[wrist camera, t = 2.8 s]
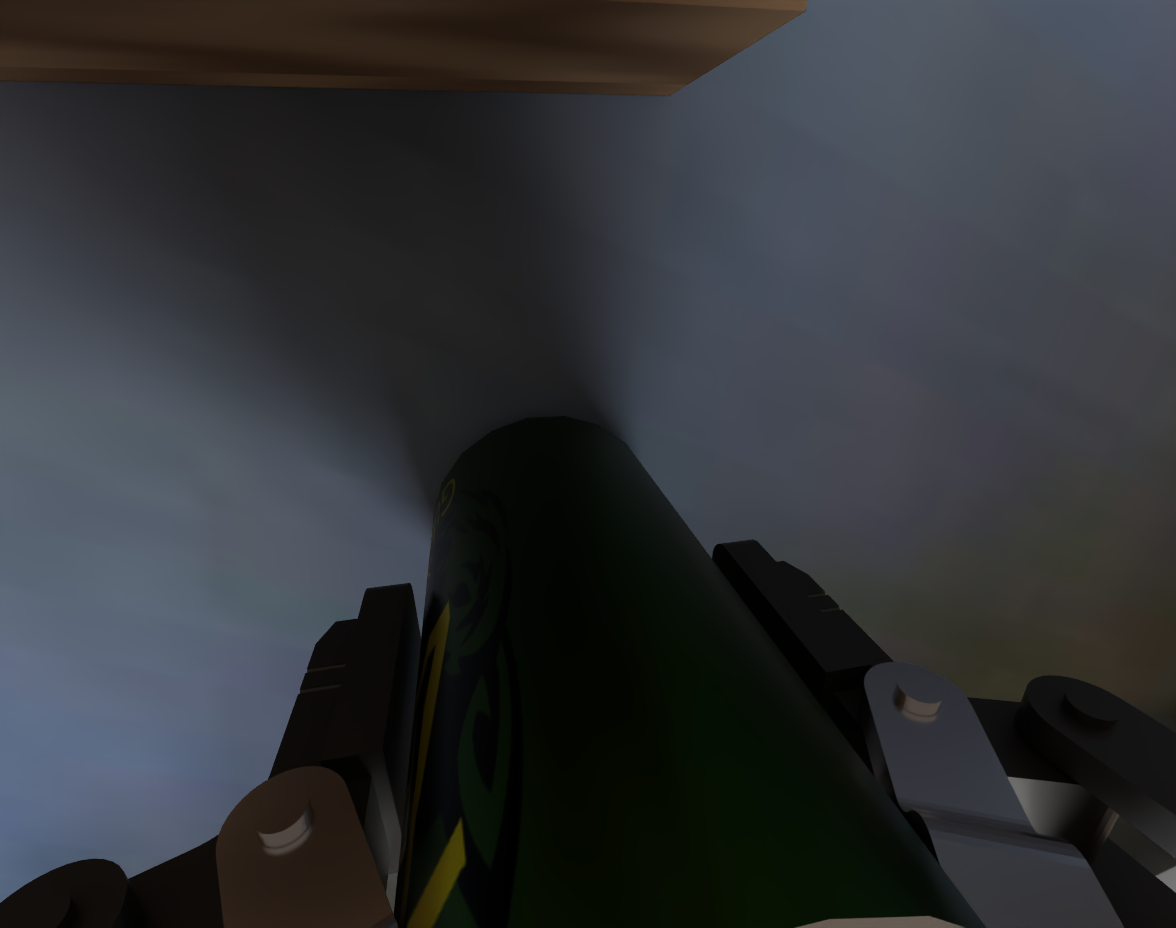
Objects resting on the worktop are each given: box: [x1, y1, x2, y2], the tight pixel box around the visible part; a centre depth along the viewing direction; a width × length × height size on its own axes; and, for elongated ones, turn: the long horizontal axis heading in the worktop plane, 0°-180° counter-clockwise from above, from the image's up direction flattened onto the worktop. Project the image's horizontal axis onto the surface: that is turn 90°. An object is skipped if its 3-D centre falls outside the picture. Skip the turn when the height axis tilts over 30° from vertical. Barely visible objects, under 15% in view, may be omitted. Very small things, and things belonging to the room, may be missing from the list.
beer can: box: [394, 416, 986, 928], centre depth 9 cm, size 5×5×12 cm
